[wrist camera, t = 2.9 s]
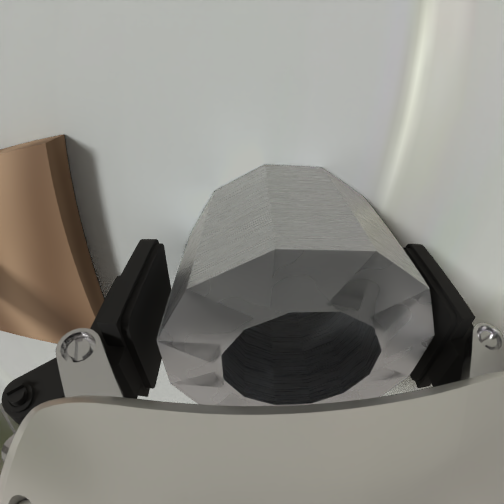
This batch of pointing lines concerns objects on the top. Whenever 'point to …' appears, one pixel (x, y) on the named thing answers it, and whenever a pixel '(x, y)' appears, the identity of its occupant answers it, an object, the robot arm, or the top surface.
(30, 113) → the top surface
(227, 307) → the steel ring
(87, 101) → the top surface
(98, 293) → the post block
